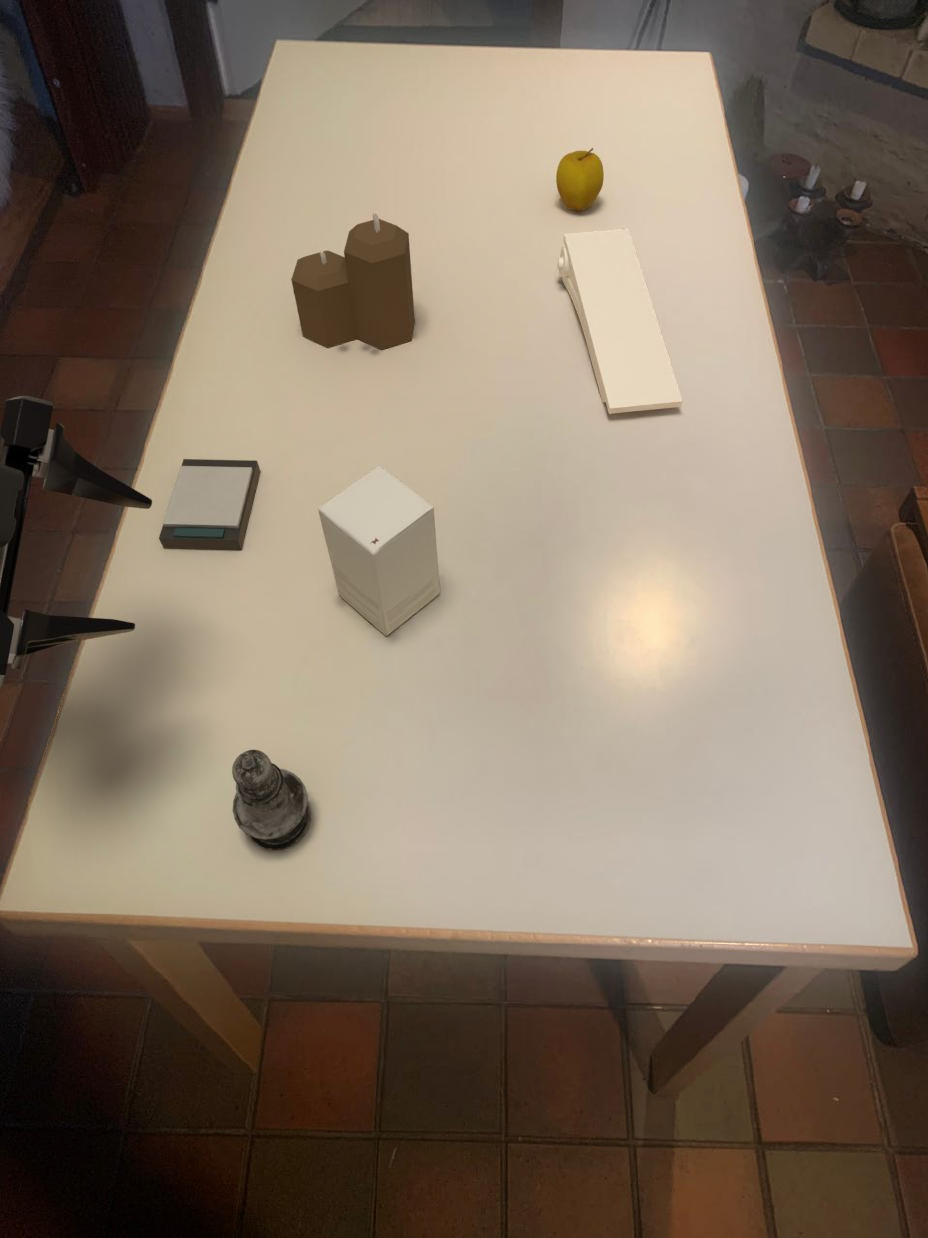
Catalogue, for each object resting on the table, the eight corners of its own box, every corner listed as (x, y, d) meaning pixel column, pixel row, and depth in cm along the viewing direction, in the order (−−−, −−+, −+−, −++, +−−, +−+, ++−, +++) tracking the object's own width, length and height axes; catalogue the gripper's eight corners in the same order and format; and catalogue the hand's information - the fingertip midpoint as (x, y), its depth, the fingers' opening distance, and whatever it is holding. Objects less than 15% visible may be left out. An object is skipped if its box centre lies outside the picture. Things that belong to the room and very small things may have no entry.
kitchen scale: (241, 550, 85) (236, 537, 83) (163, 548, 85) (156, 535, 83) (260, 470, 91) (256, 456, 89) (187, 469, 91) (181, 455, 90)
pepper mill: (230, 842, 68) (188, 784, 58) (261, 777, 71) (226, 711, 61) (297, 863, 67) (266, 807, 57) (325, 796, 70) (300, 732, 60)
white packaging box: (442, 593, 82) (437, 507, 71) (385, 638, 79) (371, 555, 68) (392, 551, 85) (380, 462, 74) (335, 593, 82) (314, 507, 71)
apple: (608, 205, 119) (616, 147, 112) (580, 224, 116) (586, 166, 110) (573, 188, 121) (579, 131, 115) (545, 206, 119) (549, 149, 112)
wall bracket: (665, 443, 100) (617, 276, 112) (695, 402, 94) (640, 229, 106) (589, 438, 97) (547, 267, 109) (614, 395, 91) (567, 219, 103)
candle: (443, 310, 106) (439, 194, 93) (377, 371, 100) (363, 255, 87) (358, 275, 110) (343, 159, 98) (290, 330, 104) (265, 215, 92)
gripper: (-172, 638, 43) (147, 676, 50) (-97, 319, 48) (184, 397, 55) (-149, 672, 52) (117, 700, 60) (-88, 402, 57) (151, 460, 65)
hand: (142, 564), depth 60 cm, fingers open, 9 cm apart
